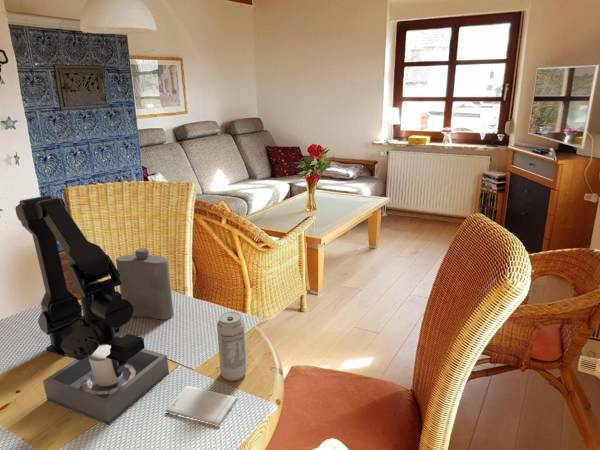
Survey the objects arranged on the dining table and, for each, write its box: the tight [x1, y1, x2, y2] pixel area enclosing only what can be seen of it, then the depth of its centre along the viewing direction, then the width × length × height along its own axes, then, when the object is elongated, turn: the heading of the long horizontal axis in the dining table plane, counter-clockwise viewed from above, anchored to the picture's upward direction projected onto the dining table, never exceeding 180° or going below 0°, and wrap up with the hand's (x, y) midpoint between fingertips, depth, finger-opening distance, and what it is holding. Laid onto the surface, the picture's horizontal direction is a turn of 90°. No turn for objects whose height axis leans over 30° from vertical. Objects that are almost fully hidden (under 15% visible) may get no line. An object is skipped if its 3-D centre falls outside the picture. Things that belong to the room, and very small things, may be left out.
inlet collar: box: [81, 364, 136, 399], centre depth 102 cm, size 11×11×2 cm
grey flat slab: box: [165, 385, 239, 427], centre depth 96 cm, size 2×8×12 cm
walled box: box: [42, 348, 170, 426], centre depth 102 cm, size 18×18×5 cm
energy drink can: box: [216, 311, 248, 382], centre depth 104 cm, size 6×6×15 cm
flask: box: [115, 247, 174, 321], centre depth 131 cm, size 15×6×20 cm, turn 80°
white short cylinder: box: [88, 344, 123, 386], centre depth 101 cm, size 7×7×7 cm
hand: (108, 372), depth 102 cm, fingers closed on white short cylinder, 6 cm apart
